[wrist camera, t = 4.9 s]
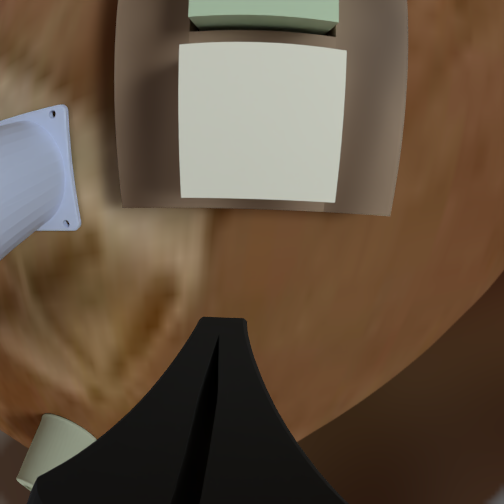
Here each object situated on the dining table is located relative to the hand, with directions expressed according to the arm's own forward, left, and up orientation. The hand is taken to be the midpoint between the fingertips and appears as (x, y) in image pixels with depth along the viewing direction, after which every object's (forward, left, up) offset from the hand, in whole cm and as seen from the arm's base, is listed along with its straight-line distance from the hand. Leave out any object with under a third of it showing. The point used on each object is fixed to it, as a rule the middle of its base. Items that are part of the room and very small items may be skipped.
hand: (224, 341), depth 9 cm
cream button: (+1, +6, -8) cm, 10 cm away
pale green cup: (-24, -31, -10) cm, 41 cm away
